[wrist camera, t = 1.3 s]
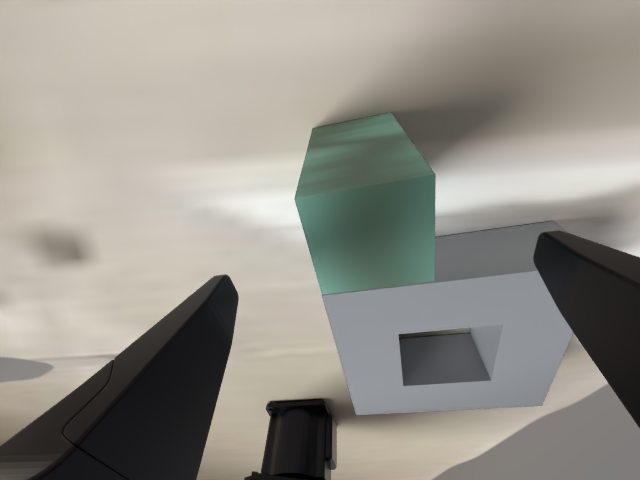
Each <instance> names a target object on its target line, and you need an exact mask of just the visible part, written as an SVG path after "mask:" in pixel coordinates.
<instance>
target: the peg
mask: <svg viewBox="0 0 640 480" xmlns="http://www.w3.org/2000/svg"><path fill="white" fill-rule="evenodd" d="M295 202H296V206H297V209H298V213H299V216H300V220H301V223H302V226H303V230H304V233H305V237H306V240H307V244H308V247H309V251H310V254H311V258H312V261H313V265H314V268H315V272H316V275H317V279H318V282H319V286H320V289H321V293H322V294H330V293H339V292H347V291H356V290H364V289H373V288H381V287H390V286H398V285H407V284H415V283H424V282H432V281H434V252H435V173H434V172H433V170H432V169H431V168H430V166H429V165H428V163H427V162H426V161H425V159H424V158H423V156H422V155H421V154H420V152H419V151H418V149H417V148H416V147H415V145H414V144H413V142H412V141H411V140H410V138H409V137H408V136H407V134H406V133H405V131H404V130H403V129H402V127H401V126H400V124H399V123H398V122H397V120H396V119H395V117H394V116H393V115H392V113H391V112H390V113H385V114H381V115H376V116H371V117H366V118H361V119H357V120H352V121H347V122H342V123H337V124H332V125H328V126H323V127H318V128H313V129H312V133H311V137H310V141H309V145H308V148H307V152H306V156H305V160H304V164H303V168H302V172H301V175H300V179H299V183H298V187H297V191H296V195H295Z"/></svg>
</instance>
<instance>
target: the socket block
mask: <svg viewBox="0 0 640 480" xmlns="http://www.w3.org/2000/svg"><path fill="white" fill-rule="evenodd" d="M553 230H560V231H563V232H566V231H564V230H563V229H562V228H561V227H560V226H559V225H557V224H556V223H555V222H554V221H549V222H541V223H534V224H527V225H520V226H513V227H505V228H498V229H491V230H484V231H477V232H469V233H462V234H455V235H448V236H441V237H435V252H434V281H432V282H424V283H415V284H407V285H398V286H390V287H381V288H373V289H364V290H356V291H347V292H339V293H330V294H322V298H323V302H324V305H325V309H326V312H327V316H328V319H329V323H330V326H331V330H332V333H333V337H334V340H335V344H336V347H337V350H338V354H339V357H340V361H341V364H342V368H343V371H344V375H345V378H346V382H347V385H348V389H349V392H350V396H351V399H352V403H353V406H354V409H355V413H356V415H370V414H390V413H410V412H430V411H450V410H470V409H490V408H510V407H530V406H542V405H543V402H544V400H545V398H546V395H547V393H548V391H549V388H550V386H551V384H552V381H553V379H554V377H555V374H556V372H557V370H558V367H559V365H560V362H561V360H562V358H563V355H564V353H565V351H566V348H567V346H568V344H569V341H570V339H571V337H572V334H573V331H572V329H571V328H570V326H569V325H568V323H567V322H566V321H565V319H564V317H563V316H562V314H561V313H560V311H559V310H558V308H557V306H556V304H555V302H554V301H553V299H552V297H551V295H550V293H549V291H548V289H547V287H546V285H545V284H544V282H543V280H542V278H541V276H540V274H539V272H538V270H537V268H536V267H535V264H534V261H533V255H534V251H535V247H536V243H537V239H538V236H539V234H540V233H542V232H545V231H553ZM566 233H567V232H566ZM461 328H470V333H463V334H451V335H440V336H429V337H418V338H406V339H399V334H406V333H417V332H428V331H439V330H450V329H461Z"/></svg>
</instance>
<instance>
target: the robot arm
mask: <svg viewBox="0 0 640 480" xmlns="http://www.w3.org/2000/svg"><path fill="white" fill-rule="evenodd" d="M533 261H534V264H535V267H536V268H537V270H538V272H539V274H540V276H541V278H542V280H543V282H544V284H545V285H546V287H547V289H548V291H549V293H550V295H551V297H552V299H553V301H554V302H555V304H556V306H557V308H558V310H559V311H560V313H561V314H562V316H563V317H564V319H565V321H566V322H567V323H568V325H569V326H570V328H571V329H572V331H573V332H574V334H575V335H576V337H577V338H578V339H579V341H580V342H581V344H582V345H583V347H584V348H585V350H586V351H587V353H588V354H589V355H590V357H591V358H592V360H593V361H594V363H595V364H596V366H597V367H598V369H599V370H600V371H601V373H602V374H603V376H604V377H605V379H606V380H607V382H608V383H609V385H610V386H611V387H612V389H613V390H614V392H615V393H616V395H617V396H618V398H619V399H620V400H621V402H622V403H623V405H624V406H625V408H626V409H627V411H628V412H629V414H630V415H631V416H632V418H633V419H634V421H635V422H636V424H637V425H638V427H639V428H640V258H639V257H636V256H633V255H630V254H628V253H625V252H622V251H619V250H616V249H613V248H610V247H607V246H604V245H601V244H598V243H595V242H593V241H590V240H587V239H584V238H581V237H578V236H575V235H572V234H569V233H566V232H563V231H560V230H553V231H545V232H542V233H540V234H539V236H538V239H537V243H536V247H535V251H534V255H533ZM237 306H238V293H237V291H236V289H235V287H234V285H233V283H232V281H231V279H230V277H229V276H228V275H217V276H214V277H213V278H211V279H210V280H209V281H208V282H206V283H205V284H204V285H203V286H202V287H200V288H199V289H198V290H197V291H196V292H194V293H193V294H192V295H191V296H189V297H188V298H187V299H186V300H185V301H183V302H182V303H181V304H180V305H178V306H177V307H176V308H175V309H174V310H172V311H171V312H170V313H169V314H168V315H166V316H165V317H164V318H163V319H161V320H160V321H159V322H158V323H157V324H155V325H154V326H153V327H152V328H150V329H149V330H148V331H147V332H146V333H144V334H143V335H142V336H141V337H140V338H138V339H137V340H136V341H135V342H133V343H132V344H131V345H130V346H129V347H127V348H126V349H125V350H124V351H122V352H121V353H120V354H119V355H118V356H116V357H115V359H114V360H111V361H110V362H109V363H108V364H107V365H105V366H104V367H103V368H102V369H101V370H99V371H98V372H97V373H96V374H94V375H93V376H92V377H91V378H89V379H88V380H87V381H86V382H84V383H83V384H82V385H81V386H79V387H78V388H77V389H75V390H74V391H73V392H71V393H70V394H69V395H67V396H66V397H65V398H64V399H62V400H61V401H60V402H58V403H57V404H56V405H54V406H53V407H52V408H50V409H49V410H48V411H46V412H45V413H44V414H42V415H41V416H40V417H38V418H37V419H36V420H34V421H33V422H31V423H30V424H29V425H27V426H26V427H25V428H23V429H22V430H21V431H19V432H18V433H17V434H15V435H14V436H13V437H11V438H10V439H9V440H7V441H6V442H5V443H3V444H2V445H1V446H0V480H196V479H197V475H198V471H199V467H200V463H201V460H202V456H203V452H204V448H205V444H206V441H207V437H208V433H209V429H210V425H211V421H212V418H213V414H214V410H215V406H216V402H217V399H218V395H219V391H220V387H221V383H222V379H223V376H224V372H225V368H226V364H227V360H228V357H229V353H230V349H231V345H232V339H233V333H234V327H235V320H236V313H237ZM266 410H267V412H268V414H269V415H270V423H269V429H268V435H267V440H266V446H265V452H264V458H263V463H262V469H261V473H258V472H253V471H252V475H251V476H249V477H245V479H244V480H331V470H335V468H336V464H337V426H336V423H335V420H334V418H333V416H332V415H331V414H330V413H329V410H328V408H327V405H326V402H325V401H322V400H318V401H301V402H284V403H269V404H267V405H266Z"/></svg>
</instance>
